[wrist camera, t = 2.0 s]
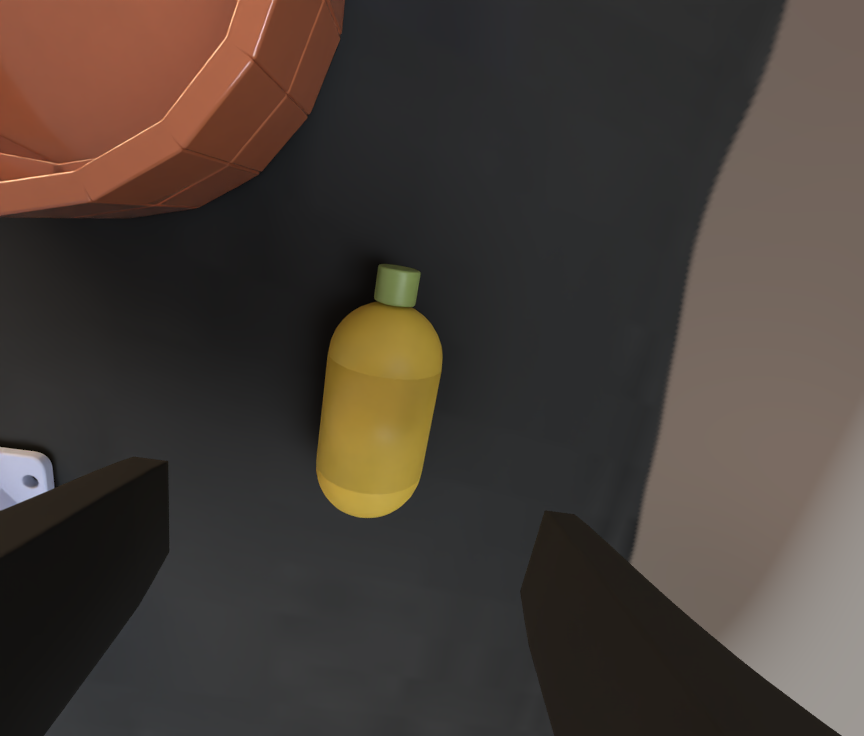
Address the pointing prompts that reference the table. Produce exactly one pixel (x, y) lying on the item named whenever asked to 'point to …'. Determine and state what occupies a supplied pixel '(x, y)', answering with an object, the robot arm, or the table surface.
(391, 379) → the yellow squeeze bottle
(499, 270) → the table surface
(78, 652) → the robot arm
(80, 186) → the basin
